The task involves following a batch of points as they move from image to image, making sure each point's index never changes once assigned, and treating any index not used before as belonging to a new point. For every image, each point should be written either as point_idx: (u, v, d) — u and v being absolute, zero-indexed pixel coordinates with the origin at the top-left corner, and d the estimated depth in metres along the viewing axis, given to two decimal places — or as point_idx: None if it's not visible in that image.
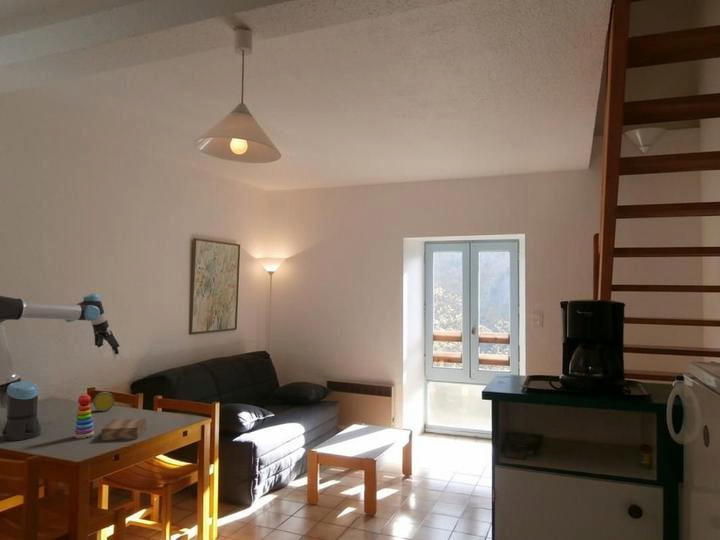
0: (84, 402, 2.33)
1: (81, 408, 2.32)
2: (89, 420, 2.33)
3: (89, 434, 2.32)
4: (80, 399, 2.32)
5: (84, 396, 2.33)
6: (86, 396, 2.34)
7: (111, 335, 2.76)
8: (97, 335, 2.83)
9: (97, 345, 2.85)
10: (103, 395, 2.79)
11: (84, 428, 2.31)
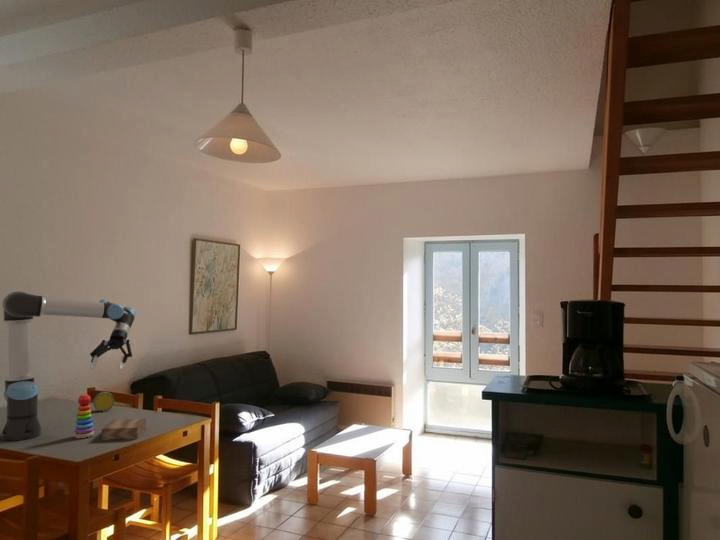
0: (84, 402, 2.33)
1: (81, 408, 2.32)
2: (89, 420, 2.33)
3: (89, 434, 2.32)
4: (80, 399, 2.32)
5: (84, 396, 2.33)
6: (86, 396, 2.34)
7: (129, 345, 2.62)
8: (102, 346, 2.62)
9: (94, 354, 2.57)
10: (103, 395, 2.79)
11: (84, 428, 2.31)
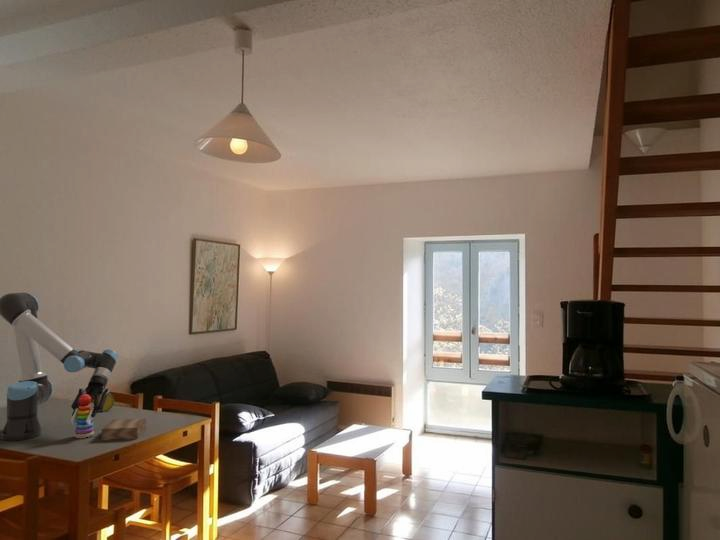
0: (84, 402, 2.33)
1: (81, 408, 2.32)
2: None
3: (89, 434, 2.32)
4: (80, 399, 2.32)
5: (84, 396, 2.33)
6: (86, 396, 2.34)
7: (106, 395, 2.41)
8: None
9: (75, 406, 2.35)
10: None
11: (84, 428, 2.31)
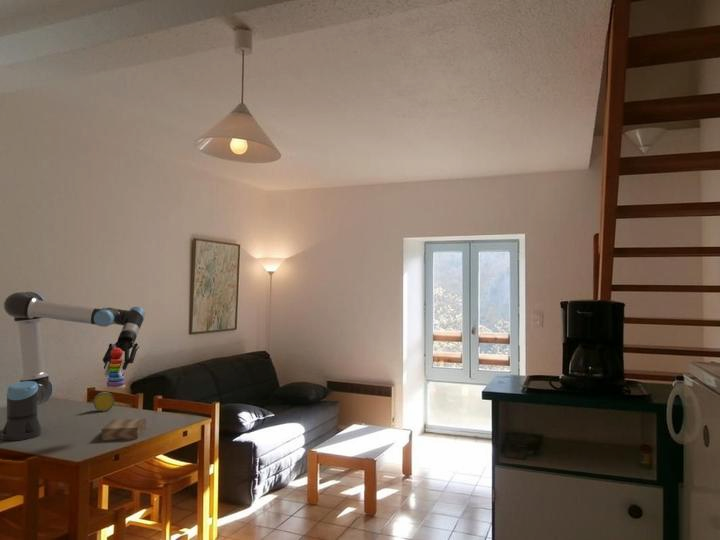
0: (116, 355, 2.35)
1: (113, 361, 2.35)
2: None
3: (121, 387, 2.35)
4: (113, 352, 2.35)
5: (116, 349, 2.36)
6: (118, 349, 2.36)
7: (136, 350, 2.44)
8: (111, 349, 2.43)
9: (107, 360, 2.38)
10: (103, 395, 2.79)
11: (116, 380, 2.34)
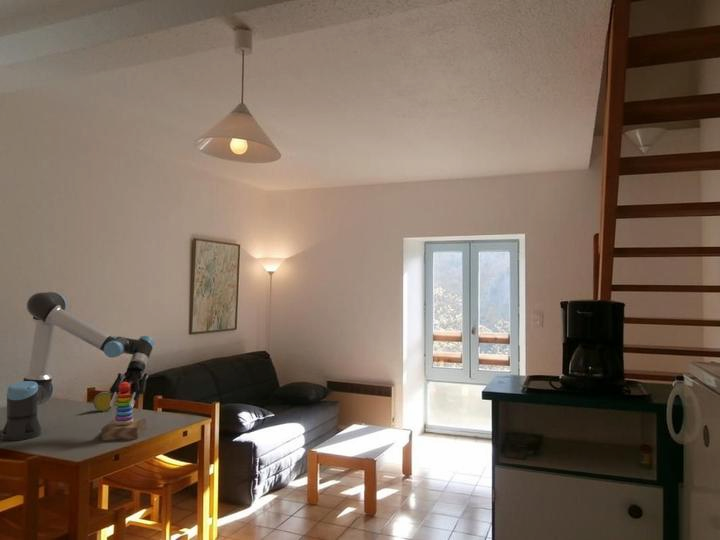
0: (124, 390, 2.35)
1: (121, 395, 2.35)
2: (129, 407, 2.36)
3: (129, 421, 2.35)
4: (120, 386, 2.35)
5: (124, 383, 2.36)
6: (126, 384, 2.37)
7: (145, 380, 2.44)
8: (119, 379, 2.44)
9: (114, 390, 2.38)
10: (103, 395, 2.79)
11: (124, 415, 2.34)
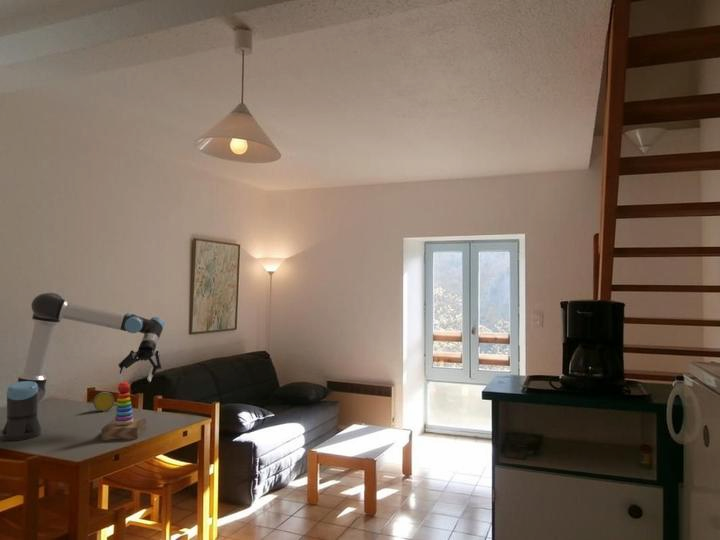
0: (124, 390, 2.35)
1: (121, 395, 2.35)
2: (129, 407, 2.36)
3: (129, 421, 2.35)
4: (120, 387, 2.35)
5: (123, 383, 2.36)
6: (126, 384, 2.37)
7: (158, 356, 2.56)
8: (130, 357, 2.55)
9: (123, 365, 2.51)
10: (103, 395, 2.79)
11: (124, 415, 2.34)
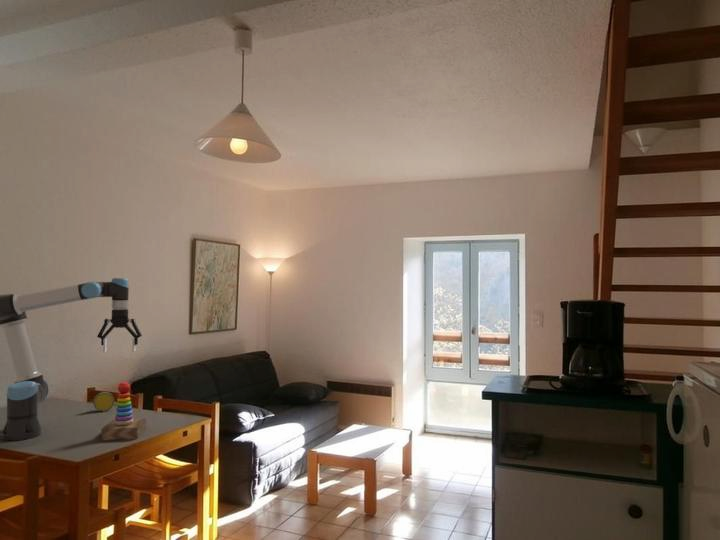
0: (124, 390, 2.35)
1: (121, 395, 2.35)
2: (129, 407, 2.36)
3: (129, 421, 2.35)
4: (120, 387, 2.35)
5: (123, 383, 2.36)
6: (126, 384, 2.37)
7: (135, 323, 2.61)
8: (106, 325, 2.58)
9: (102, 336, 2.57)
10: (103, 395, 2.79)
11: (124, 415, 2.34)
